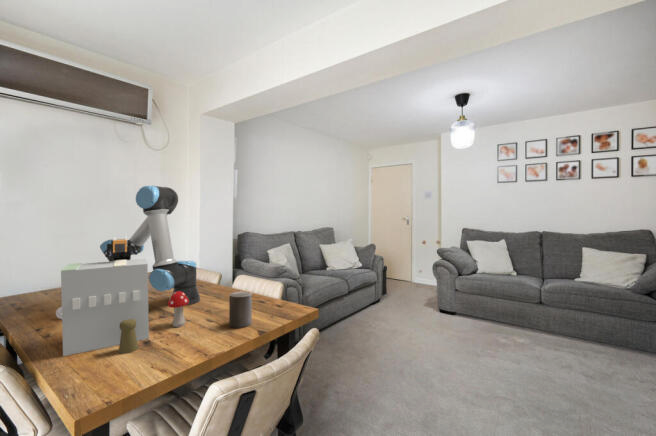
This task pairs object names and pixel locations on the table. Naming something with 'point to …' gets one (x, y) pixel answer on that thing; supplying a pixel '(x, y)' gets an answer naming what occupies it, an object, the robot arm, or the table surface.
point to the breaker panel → (102, 303)
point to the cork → (128, 336)
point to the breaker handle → (119, 245)
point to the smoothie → (59, 313)
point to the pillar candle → (240, 309)
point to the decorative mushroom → (178, 307)
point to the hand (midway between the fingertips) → (120, 238)
